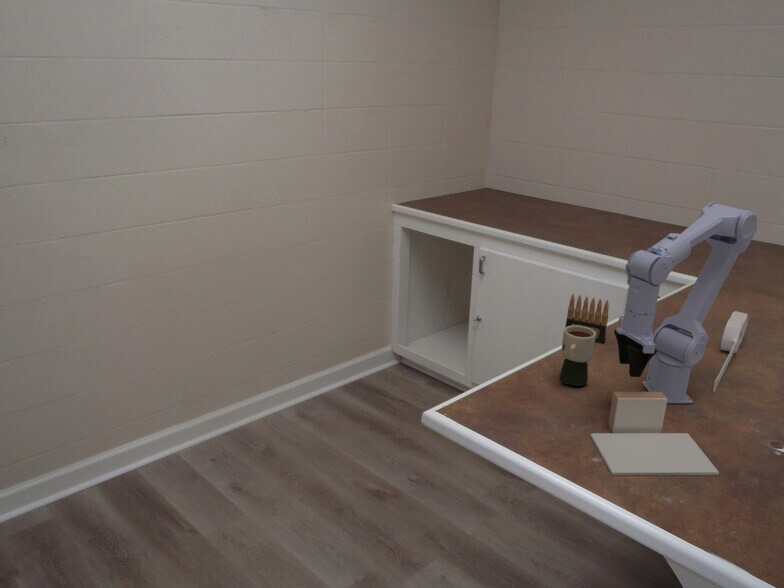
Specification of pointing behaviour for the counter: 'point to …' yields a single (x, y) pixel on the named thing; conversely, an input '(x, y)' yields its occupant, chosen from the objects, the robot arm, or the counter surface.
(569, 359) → the character mug
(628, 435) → the board
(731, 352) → the white long handled piece
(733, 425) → the counter surface
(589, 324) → the ammunition clip
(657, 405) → the tile
